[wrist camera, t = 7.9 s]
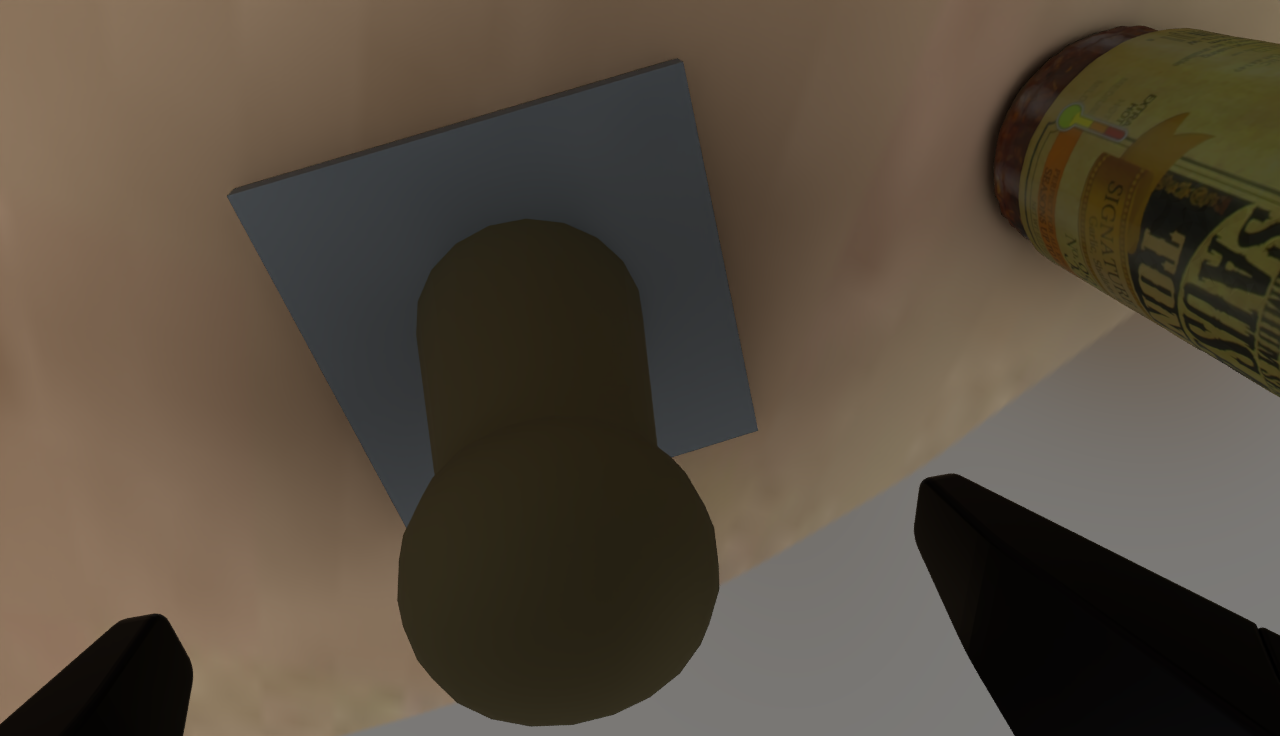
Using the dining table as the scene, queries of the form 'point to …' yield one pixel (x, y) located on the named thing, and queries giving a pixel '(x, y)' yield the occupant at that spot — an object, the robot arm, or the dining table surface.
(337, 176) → the slate coaster
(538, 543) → the dark olive bulbous piece
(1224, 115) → the sauce bottle
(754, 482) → the dining table surface
